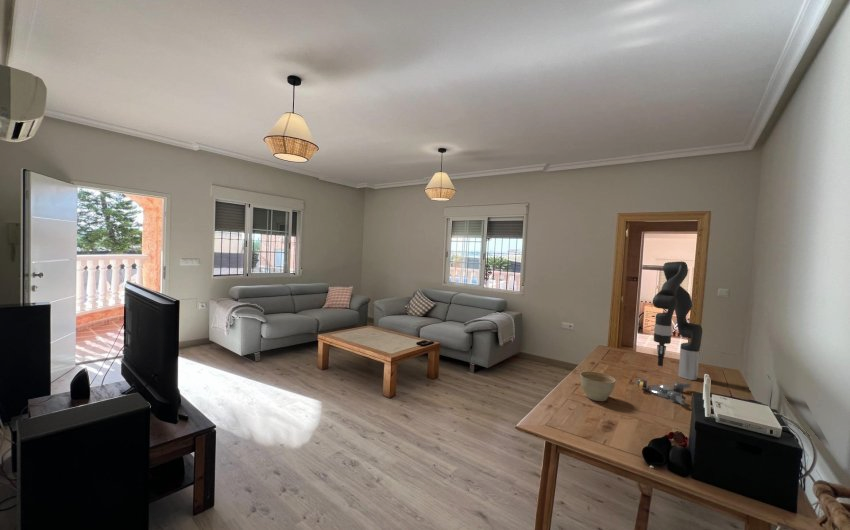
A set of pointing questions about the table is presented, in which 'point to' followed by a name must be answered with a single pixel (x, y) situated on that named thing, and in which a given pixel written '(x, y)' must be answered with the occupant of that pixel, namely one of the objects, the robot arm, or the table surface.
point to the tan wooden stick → (642, 383)
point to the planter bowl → (597, 385)
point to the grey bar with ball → (681, 386)
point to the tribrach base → (662, 391)
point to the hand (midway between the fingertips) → (660, 365)
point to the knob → (676, 397)
